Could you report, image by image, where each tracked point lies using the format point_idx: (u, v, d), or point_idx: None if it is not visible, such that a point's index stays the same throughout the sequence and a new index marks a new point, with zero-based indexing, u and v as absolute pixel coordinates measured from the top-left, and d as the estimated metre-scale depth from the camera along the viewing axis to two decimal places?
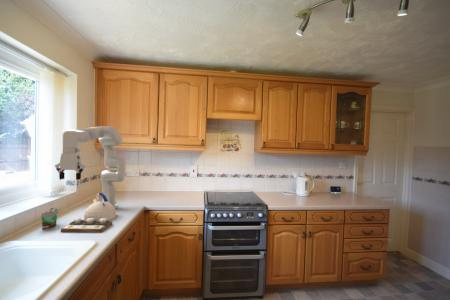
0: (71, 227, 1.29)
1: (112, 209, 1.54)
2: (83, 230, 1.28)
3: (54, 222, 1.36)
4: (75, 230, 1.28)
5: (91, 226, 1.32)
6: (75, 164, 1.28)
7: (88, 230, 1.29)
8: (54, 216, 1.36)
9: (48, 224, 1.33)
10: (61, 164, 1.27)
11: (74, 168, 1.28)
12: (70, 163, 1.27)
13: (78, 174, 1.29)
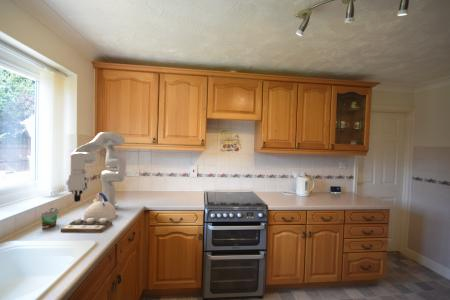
0: (71, 227, 1.29)
1: (112, 209, 1.54)
2: (83, 230, 1.28)
3: (54, 222, 1.36)
4: (75, 230, 1.28)
5: (91, 226, 1.32)
6: (82, 185, 1.35)
7: (88, 230, 1.29)
8: (54, 216, 1.36)
9: (48, 224, 1.33)
10: (69, 185, 1.34)
11: (81, 189, 1.35)
12: (77, 184, 1.34)
13: (78, 196, 1.36)
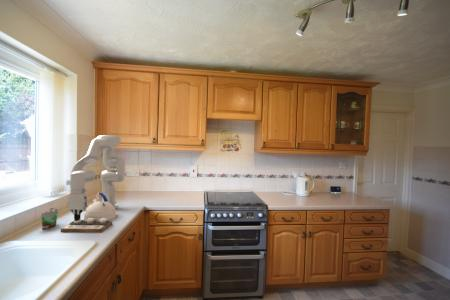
0: (71, 227, 1.29)
1: (112, 209, 1.54)
2: (83, 230, 1.28)
3: (54, 222, 1.36)
4: (75, 230, 1.28)
5: (91, 226, 1.32)
6: (82, 204, 1.35)
7: (88, 230, 1.29)
8: (54, 216, 1.36)
9: (48, 224, 1.33)
10: (69, 204, 1.35)
11: (81, 208, 1.35)
12: (77, 204, 1.34)
13: (78, 215, 1.36)
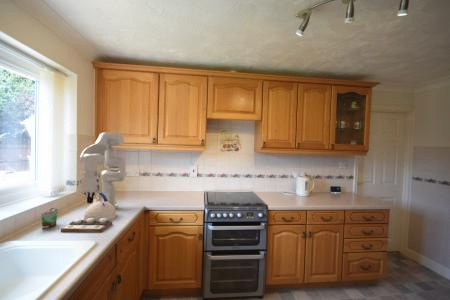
0: (71, 227, 1.29)
1: (112, 209, 1.54)
2: (83, 230, 1.28)
3: (54, 222, 1.36)
4: (75, 230, 1.28)
5: (91, 226, 1.32)
6: (95, 187, 1.35)
7: (88, 230, 1.29)
8: (54, 216, 1.36)
9: (48, 224, 1.33)
10: (82, 187, 1.35)
11: (94, 191, 1.35)
12: (90, 186, 1.34)
13: (91, 198, 1.36)
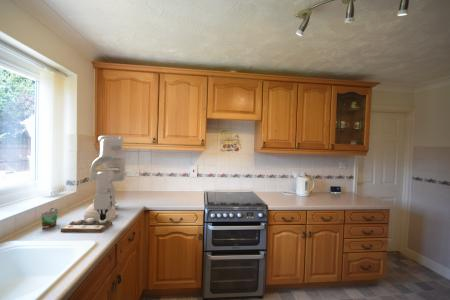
0: (71, 227, 1.29)
1: (112, 209, 1.54)
2: (83, 230, 1.28)
3: (54, 222, 1.36)
4: (75, 230, 1.28)
5: (91, 226, 1.32)
6: (108, 204, 1.35)
7: (88, 230, 1.29)
8: (54, 216, 1.36)
9: (48, 224, 1.33)
10: (95, 204, 1.35)
11: (107, 208, 1.35)
12: (103, 203, 1.35)
13: (104, 215, 1.36)
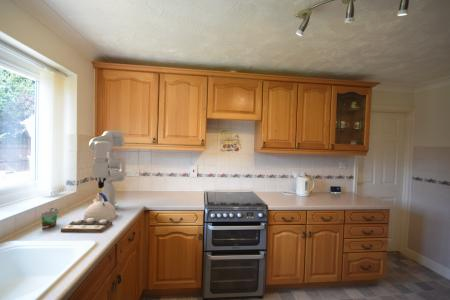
0: (71, 227, 1.29)
1: (112, 209, 1.54)
2: (83, 230, 1.28)
3: (54, 222, 1.36)
4: (75, 230, 1.28)
5: (91, 226, 1.32)
6: (106, 173, 1.41)
7: (88, 230, 1.29)
8: (54, 216, 1.36)
9: (48, 224, 1.33)
10: (93, 172, 1.41)
11: (105, 176, 1.42)
12: (101, 172, 1.41)
13: (102, 183, 1.43)
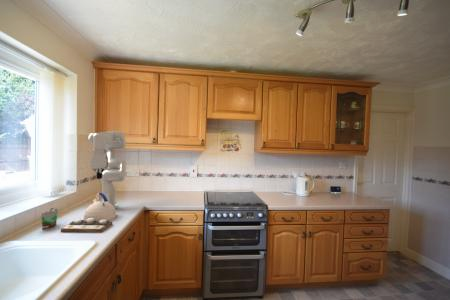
0: (71, 227, 1.29)
1: (112, 209, 1.54)
2: (83, 230, 1.28)
3: (54, 222, 1.36)
4: (75, 230, 1.28)
5: (91, 226, 1.32)
6: (104, 163, 1.45)
7: (88, 230, 1.29)
8: (54, 216, 1.36)
9: (48, 224, 1.33)
10: (92, 163, 1.44)
11: (103, 167, 1.45)
12: (99, 163, 1.44)
13: (100, 174, 1.46)
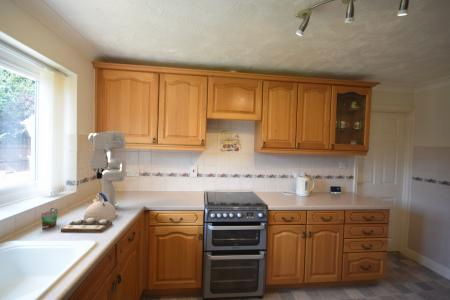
0: (71, 227, 1.29)
1: (112, 209, 1.54)
2: (83, 230, 1.28)
3: (54, 222, 1.36)
4: (75, 230, 1.28)
5: (91, 226, 1.32)
6: (104, 163, 1.45)
7: (88, 230, 1.29)
8: (54, 216, 1.36)
9: (48, 224, 1.33)
10: (92, 163, 1.44)
11: (103, 167, 1.45)
12: (99, 163, 1.44)
13: (100, 174, 1.46)
